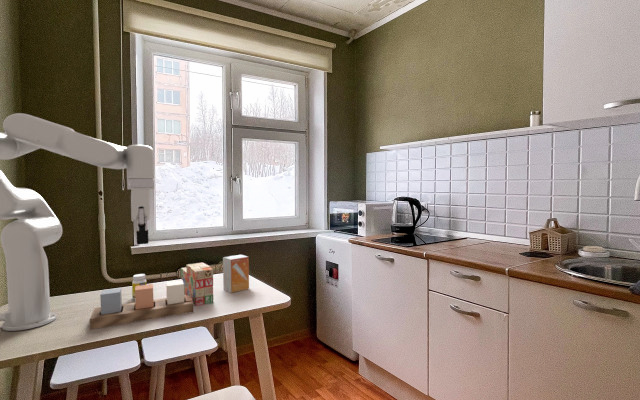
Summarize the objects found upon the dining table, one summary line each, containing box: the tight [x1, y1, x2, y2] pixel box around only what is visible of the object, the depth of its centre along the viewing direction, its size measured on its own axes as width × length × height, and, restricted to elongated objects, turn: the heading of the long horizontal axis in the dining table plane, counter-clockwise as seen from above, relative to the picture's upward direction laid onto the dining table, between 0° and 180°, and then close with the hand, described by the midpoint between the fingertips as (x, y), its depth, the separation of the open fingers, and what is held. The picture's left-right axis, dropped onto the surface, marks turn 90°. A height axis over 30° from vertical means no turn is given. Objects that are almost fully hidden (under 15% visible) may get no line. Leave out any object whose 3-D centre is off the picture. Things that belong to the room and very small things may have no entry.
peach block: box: [134, 283, 154, 309], centre depth 108 cm, size 5×5×6 cm
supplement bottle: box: [131, 273, 148, 300], centre depth 126 cm, size 5×5×8 cm
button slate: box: [99, 287, 123, 315], centre depth 104 cm, size 5×5×6 cm
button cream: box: [165, 279, 185, 305], centre depth 112 cm, size 5×5×6 cm
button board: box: [89, 294, 194, 330], centre depth 108 cm, size 28×10×3 cm, turn 116°
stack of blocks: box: [180, 262, 214, 307], centre depth 126 cm, size 21×6×12 cm, turn 34°
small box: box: [222, 254, 250, 293], centre depth 134 cm, size 8×6×13 cm
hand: (142, 242), depth 107 cm, fingers open, 2 cm apart
